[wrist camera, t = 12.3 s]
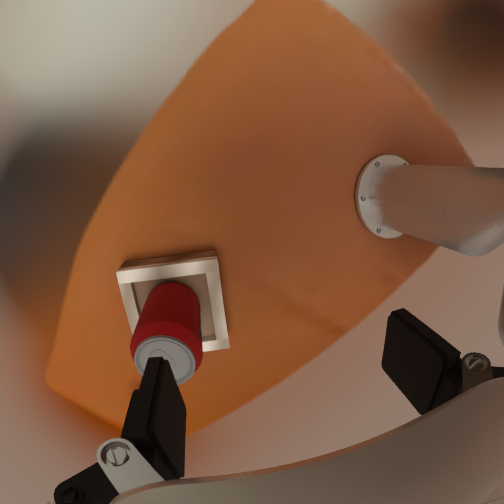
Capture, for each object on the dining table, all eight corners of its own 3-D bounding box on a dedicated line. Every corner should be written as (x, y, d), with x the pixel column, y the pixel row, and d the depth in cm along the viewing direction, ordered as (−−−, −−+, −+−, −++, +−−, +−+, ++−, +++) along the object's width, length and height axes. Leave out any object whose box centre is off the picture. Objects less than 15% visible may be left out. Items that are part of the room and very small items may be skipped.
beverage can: (172, 338, 34) (165, 402, 23) (135, 301, 32) (111, 356, 21) (211, 309, 34) (219, 368, 23) (175, 268, 32) (165, 315, 21)
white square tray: (215, 249, 35) (217, 258, 31) (226, 331, 39) (229, 348, 35) (124, 261, 34) (116, 271, 30) (144, 341, 37) (140, 357, 33)
